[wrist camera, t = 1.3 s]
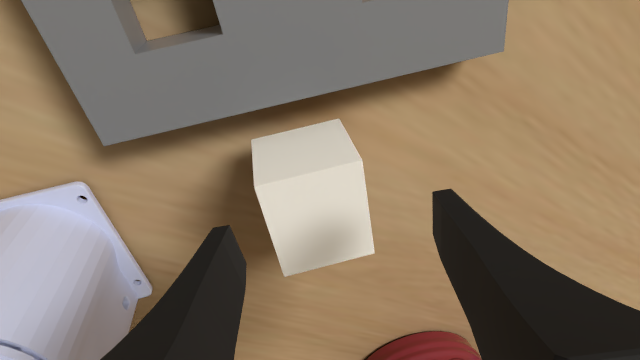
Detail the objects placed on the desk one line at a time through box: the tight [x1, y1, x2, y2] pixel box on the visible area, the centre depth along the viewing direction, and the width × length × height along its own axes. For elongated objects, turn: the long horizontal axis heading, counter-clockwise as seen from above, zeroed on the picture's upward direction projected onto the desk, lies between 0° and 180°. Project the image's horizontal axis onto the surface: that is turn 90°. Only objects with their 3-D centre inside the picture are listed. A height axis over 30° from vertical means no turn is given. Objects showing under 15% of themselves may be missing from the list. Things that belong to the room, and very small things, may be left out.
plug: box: [251, 119, 374, 277], centre depth 21 cm, size 7×5×6 cm
